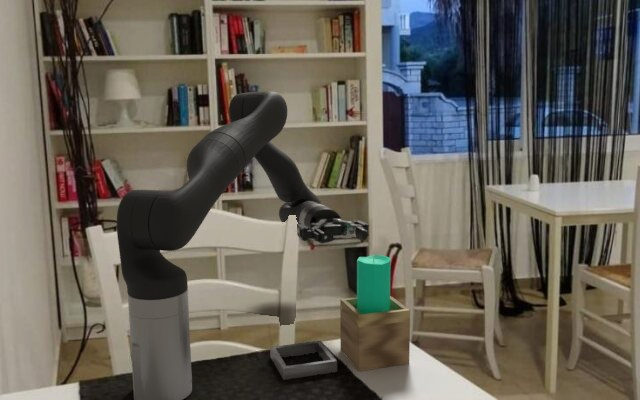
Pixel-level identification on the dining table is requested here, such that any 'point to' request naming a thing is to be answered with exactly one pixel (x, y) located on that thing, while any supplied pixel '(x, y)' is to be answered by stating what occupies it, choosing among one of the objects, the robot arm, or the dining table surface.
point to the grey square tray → (307, 368)
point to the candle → (373, 284)
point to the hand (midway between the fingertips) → (343, 237)
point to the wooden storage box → (375, 335)
